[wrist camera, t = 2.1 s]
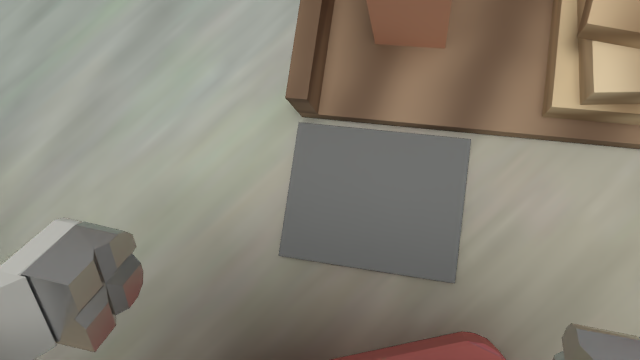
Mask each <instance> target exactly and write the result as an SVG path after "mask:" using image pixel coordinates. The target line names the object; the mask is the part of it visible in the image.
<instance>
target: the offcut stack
mask: <svg viewBox="0 0 640 360" xmlns="http://www.w3.org/2000/svg"><path fill="white" fill-rule="evenodd" d="M542 117H548V118H559V119H571V120H583V121H594V122H606V123H617V124H629V125H640V0H553V9H552V19H551V30H550V40H549V50H548V61H547V71H546V81H545V91H544V102H543V112H542Z"/></svg>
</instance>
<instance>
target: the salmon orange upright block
mask: <svg viewBox="0 0 640 360" xmlns="http://www.w3.org/2000/svg"><path fill="white" fill-rule="evenodd" d="M366 1H367V6H368V11H369V16H370V21H371V26H372V31H373V35H374V40H375V44H380V45H396V46H412V47H429V48H445V46H446V39H447V32H448V25H449V17H450V10H451V3H452V0H366Z"/></svg>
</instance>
